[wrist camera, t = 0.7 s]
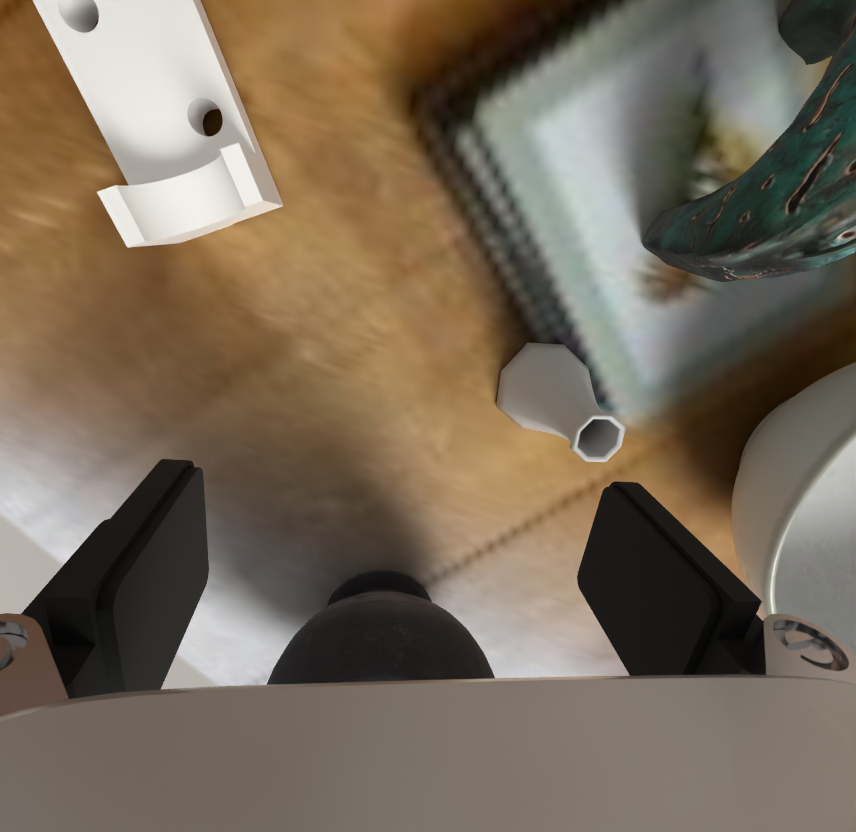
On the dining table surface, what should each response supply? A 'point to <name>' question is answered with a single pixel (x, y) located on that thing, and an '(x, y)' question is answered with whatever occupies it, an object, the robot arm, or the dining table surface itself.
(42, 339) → the dining table surface
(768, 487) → the decorative bowl
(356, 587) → the pitcher
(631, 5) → the dining table surface
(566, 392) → the flask
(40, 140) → the dining table surface
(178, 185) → the bracket
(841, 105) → the cat figurine
